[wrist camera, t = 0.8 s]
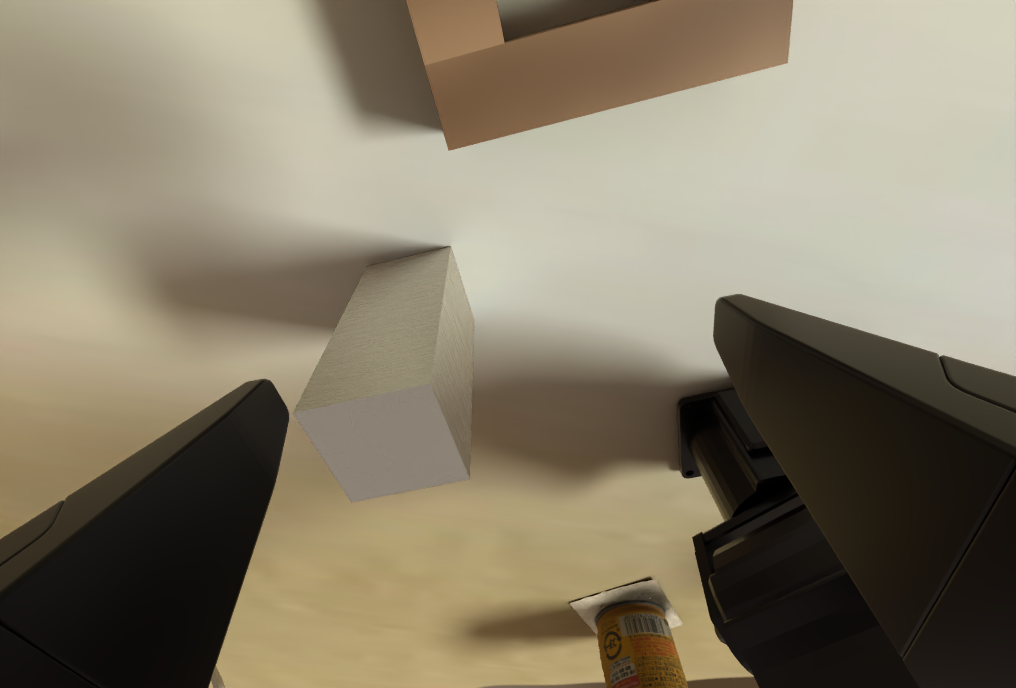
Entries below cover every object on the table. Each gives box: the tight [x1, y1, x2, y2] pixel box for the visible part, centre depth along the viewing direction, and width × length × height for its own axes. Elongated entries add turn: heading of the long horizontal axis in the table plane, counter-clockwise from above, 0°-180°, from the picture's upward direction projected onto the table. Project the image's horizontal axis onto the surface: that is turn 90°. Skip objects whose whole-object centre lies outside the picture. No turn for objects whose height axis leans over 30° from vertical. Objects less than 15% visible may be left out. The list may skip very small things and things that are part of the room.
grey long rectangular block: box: [293, 246, 474, 502], centre depth 18 cm, size 4×4×10 cm
